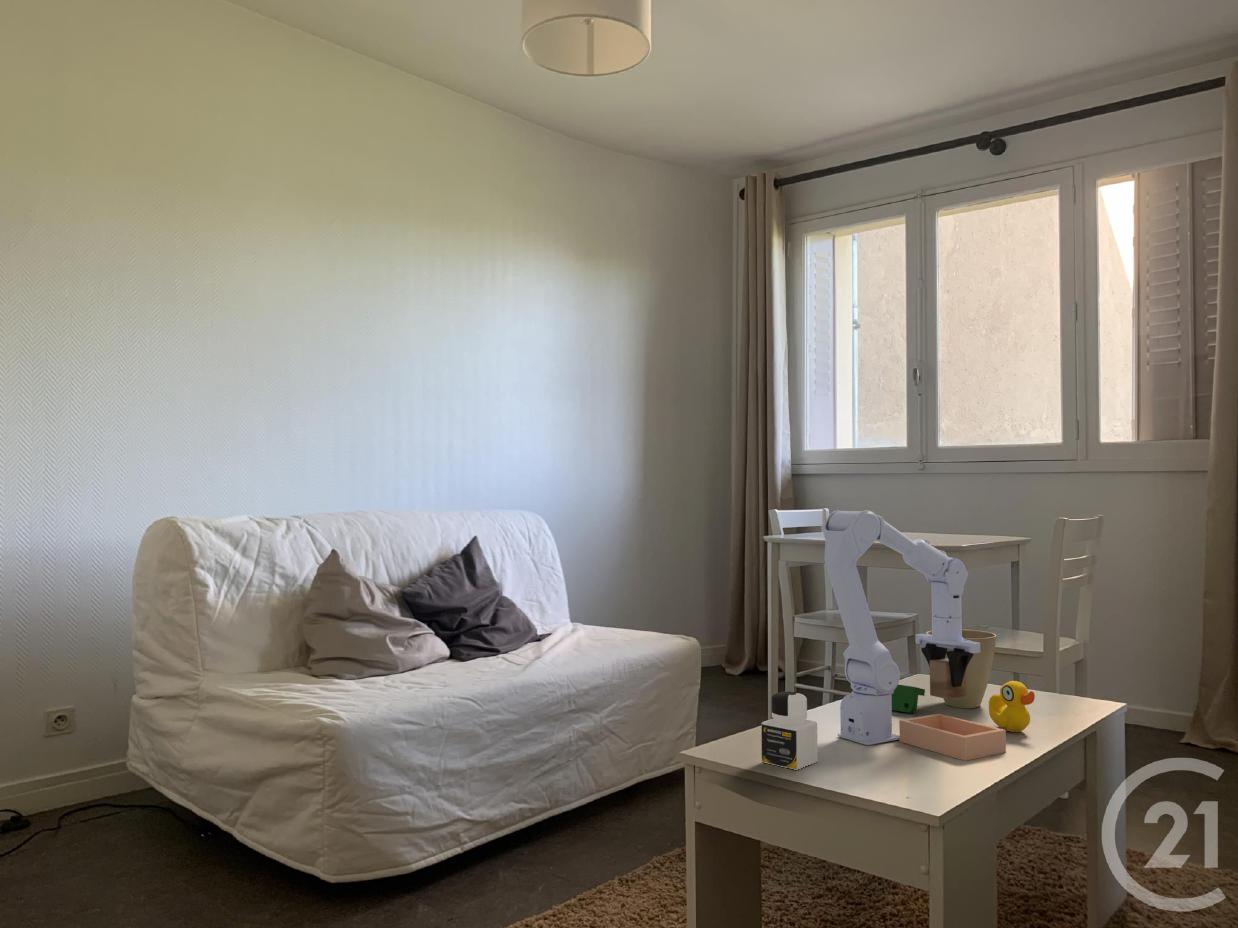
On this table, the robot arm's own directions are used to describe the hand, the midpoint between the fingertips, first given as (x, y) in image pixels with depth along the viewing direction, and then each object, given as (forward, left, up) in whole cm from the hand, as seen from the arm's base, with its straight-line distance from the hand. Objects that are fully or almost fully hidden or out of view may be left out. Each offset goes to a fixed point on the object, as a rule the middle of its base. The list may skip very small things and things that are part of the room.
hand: (947, 684), depth 185 cm
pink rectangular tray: (-11, -10, -9) cm, 17 cm away
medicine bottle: (-44, -3, -9) cm, 45 cm away
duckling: (+9, -8, -9) cm, 15 cm away
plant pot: (+20, +13, -9) cm, 25 cm away
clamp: (+5, +18, -9) cm, 21 cm away
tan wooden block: (0, 0, -2) cm, 2 cm away
